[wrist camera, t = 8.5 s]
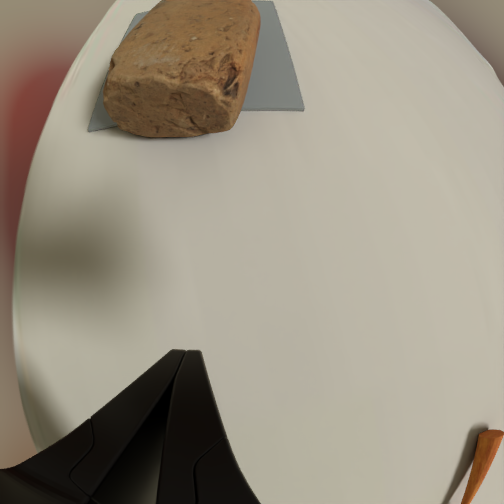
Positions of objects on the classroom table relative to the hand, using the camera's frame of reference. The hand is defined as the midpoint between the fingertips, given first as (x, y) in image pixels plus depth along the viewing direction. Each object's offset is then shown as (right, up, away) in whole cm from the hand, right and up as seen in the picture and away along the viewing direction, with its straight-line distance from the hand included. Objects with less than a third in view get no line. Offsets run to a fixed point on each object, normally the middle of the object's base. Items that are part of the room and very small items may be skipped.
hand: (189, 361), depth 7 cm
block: (-4, +12, +9) cm, 16 cm away
